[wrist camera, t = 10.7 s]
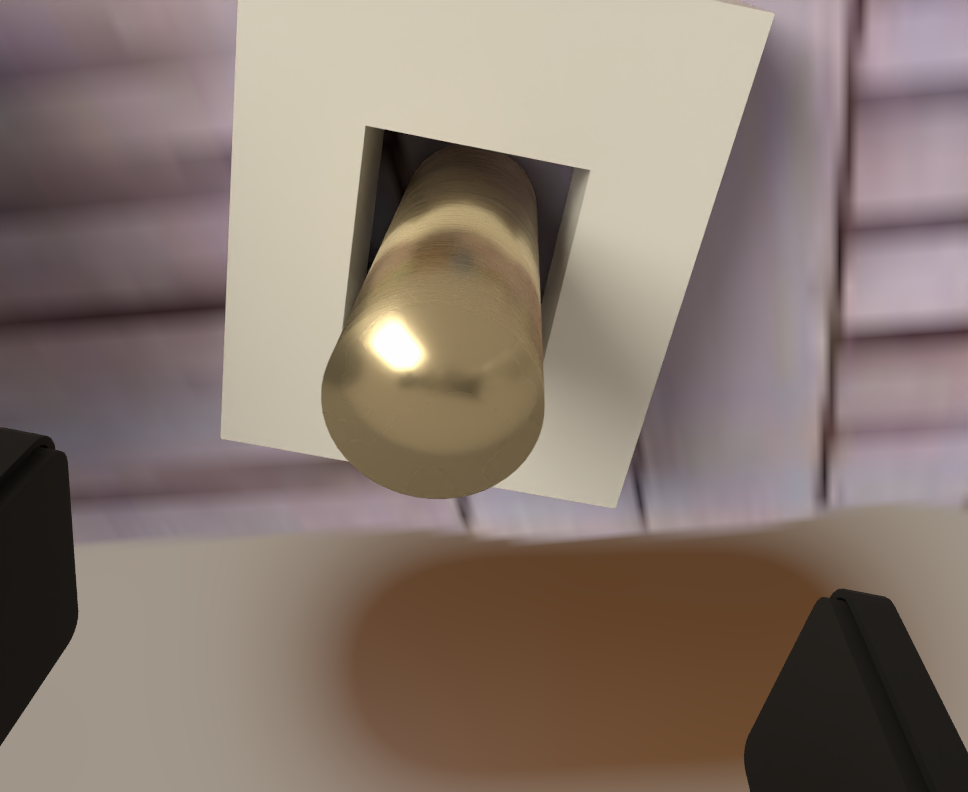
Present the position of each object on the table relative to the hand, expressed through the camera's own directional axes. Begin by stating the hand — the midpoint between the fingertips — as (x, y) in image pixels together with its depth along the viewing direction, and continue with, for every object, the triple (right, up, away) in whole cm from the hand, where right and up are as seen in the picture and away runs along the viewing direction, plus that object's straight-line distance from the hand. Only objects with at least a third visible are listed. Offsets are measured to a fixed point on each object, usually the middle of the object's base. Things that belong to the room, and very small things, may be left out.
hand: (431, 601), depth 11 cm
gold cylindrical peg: (0, +8, +15) cm, 17 cm away
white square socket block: (0, +8, +15) cm, 17 cm away
